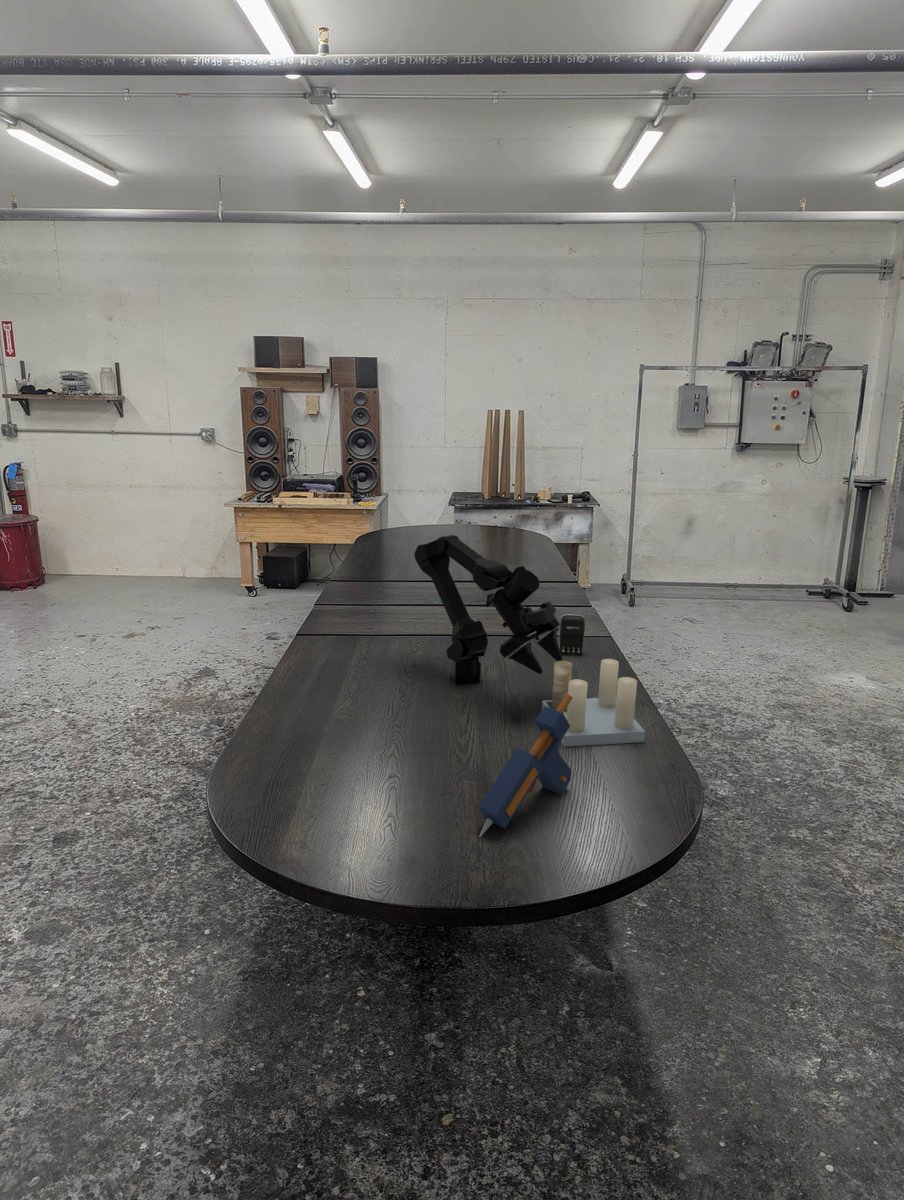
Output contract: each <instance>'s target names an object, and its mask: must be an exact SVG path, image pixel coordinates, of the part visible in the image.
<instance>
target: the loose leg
mask: <svg viewBox="0 0 904 1200" xmlns="http://www.w3.org/2000/svg"><path fill="white" fill-rule="evenodd" d="M553 664H554V665H553V680H552V681H553V682H552V697H551V698H552V699H551V700H552V709H554V710H557V708H558V706H559V705H560V703H561V702H562V700H563V699H564V697H565V696H566V694H568V686H569V681H570V680H572V673H573V663H572V662H570V661H567V660H562V661H557V660H555V661H554V663H553ZM564 712H567V708H566V709H565V711H564Z"/></svg>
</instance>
